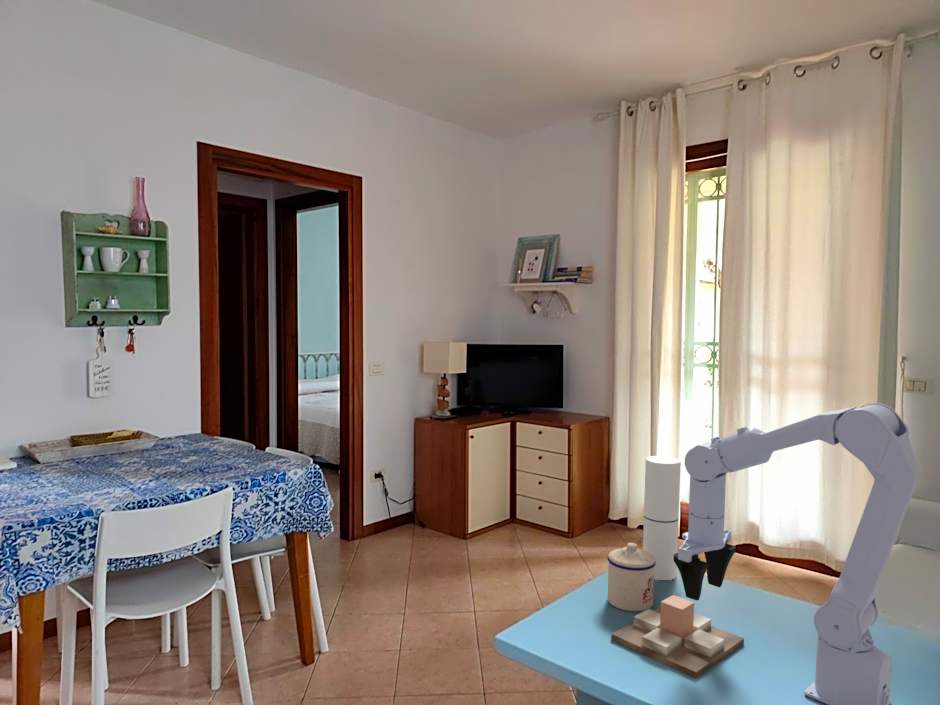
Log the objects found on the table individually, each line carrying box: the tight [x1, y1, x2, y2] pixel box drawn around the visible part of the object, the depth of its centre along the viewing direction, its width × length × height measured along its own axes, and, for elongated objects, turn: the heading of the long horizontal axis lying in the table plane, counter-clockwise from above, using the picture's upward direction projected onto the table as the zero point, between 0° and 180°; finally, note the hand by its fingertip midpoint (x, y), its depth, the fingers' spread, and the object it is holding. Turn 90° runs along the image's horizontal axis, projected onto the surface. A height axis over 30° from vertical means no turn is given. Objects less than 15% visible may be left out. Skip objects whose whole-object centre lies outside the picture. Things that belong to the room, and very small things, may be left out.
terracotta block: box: [660, 594, 695, 643], centre depth 117 cm, size 4×4×6 cm
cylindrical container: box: [642, 455, 682, 581], centre depth 145 cm, size 7×7×25 cm
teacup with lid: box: [607, 542, 656, 612], centre depth 133 cm, size 12×9×12 cm
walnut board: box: [610, 606, 745, 679], centre depth 117 cm, size 16×16×2 cm
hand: (703, 591), depth 116 cm, fingers open, 7 cm apart
